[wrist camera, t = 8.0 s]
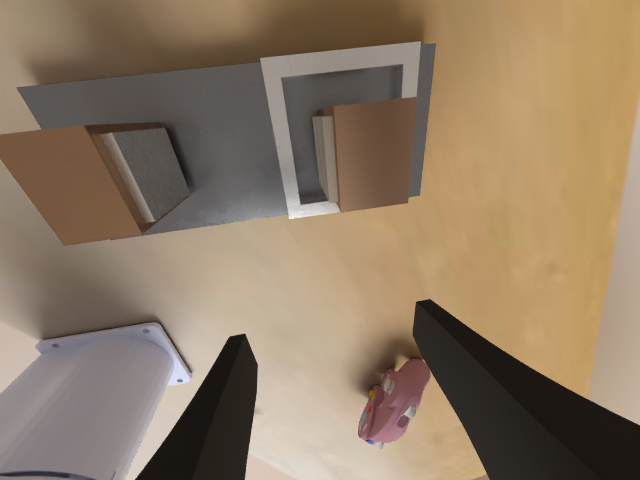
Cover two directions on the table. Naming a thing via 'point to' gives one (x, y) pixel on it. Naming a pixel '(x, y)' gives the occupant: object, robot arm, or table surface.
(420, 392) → the video game controller
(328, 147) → the wooden block
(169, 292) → the table surface
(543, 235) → the table surface
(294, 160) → the grey holder base
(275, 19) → the table surface
